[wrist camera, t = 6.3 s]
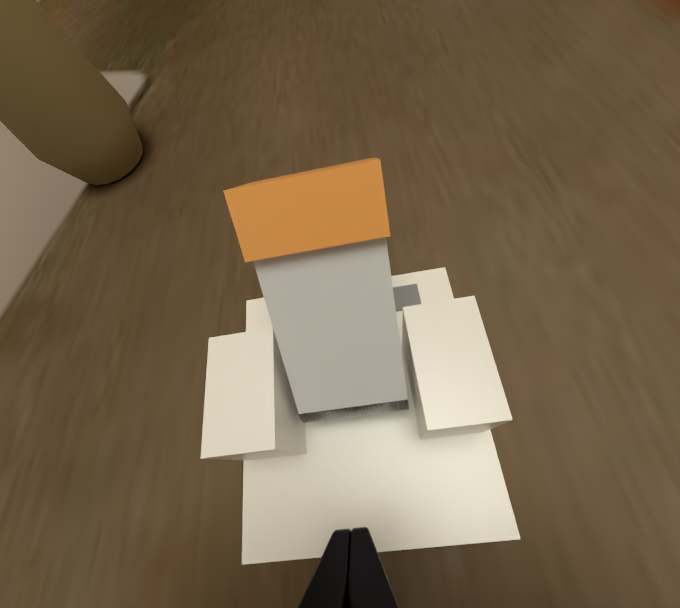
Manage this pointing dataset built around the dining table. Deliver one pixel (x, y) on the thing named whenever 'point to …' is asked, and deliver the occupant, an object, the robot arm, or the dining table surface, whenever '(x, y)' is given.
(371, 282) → the lever
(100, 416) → the dining table surface
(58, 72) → the squeeze bottle
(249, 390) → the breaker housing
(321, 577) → the robot arm
